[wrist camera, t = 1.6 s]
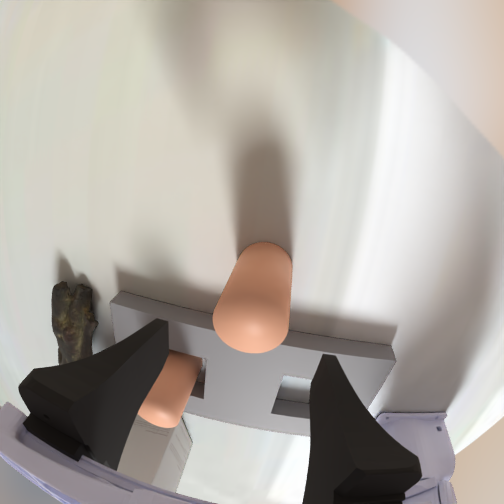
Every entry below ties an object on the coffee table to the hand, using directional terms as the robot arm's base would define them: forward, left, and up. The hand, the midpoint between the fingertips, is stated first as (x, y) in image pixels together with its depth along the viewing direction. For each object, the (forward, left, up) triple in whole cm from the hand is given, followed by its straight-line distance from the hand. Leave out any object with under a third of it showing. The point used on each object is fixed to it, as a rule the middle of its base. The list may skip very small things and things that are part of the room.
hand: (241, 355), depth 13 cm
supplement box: (+9, +25, -10) cm, 28 cm away
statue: (+18, +15, -10) cm, 25 cm away
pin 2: (0, 0, -10) cm, 10 cm away
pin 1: (+6, +11, -9) cm, 16 cm away
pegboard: (0, +11, -9) cm, 14 cm away
